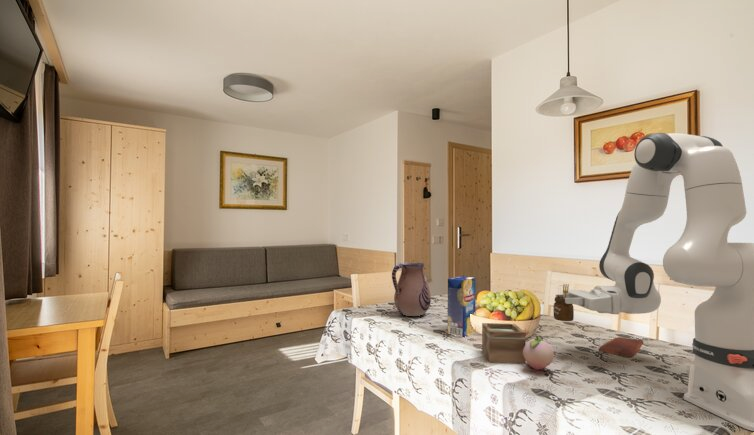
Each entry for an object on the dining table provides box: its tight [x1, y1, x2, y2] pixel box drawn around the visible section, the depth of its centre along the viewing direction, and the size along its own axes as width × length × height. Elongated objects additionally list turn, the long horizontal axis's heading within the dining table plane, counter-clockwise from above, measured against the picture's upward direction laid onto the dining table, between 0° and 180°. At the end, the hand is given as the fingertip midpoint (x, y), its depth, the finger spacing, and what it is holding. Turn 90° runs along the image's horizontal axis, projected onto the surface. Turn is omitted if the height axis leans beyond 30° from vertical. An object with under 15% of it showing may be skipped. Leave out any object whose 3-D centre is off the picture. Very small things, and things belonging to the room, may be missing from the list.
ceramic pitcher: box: [391, 261, 432, 317], centre depth 179 cm, size 18×21×25 cm
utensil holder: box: [553, 283, 575, 322], centre depth 123 cm, size 6×6×12 cm
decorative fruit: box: [523, 335, 555, 371], centre depth 111 cm, size 9×8×10 cm
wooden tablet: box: [598, 336, 644, 358], centre depth 135 cm, size 27×10×2 cm, turn 135°
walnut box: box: [481, 322, 527, 364], centre depth 122 cm, size 11×11×10 cm
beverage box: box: [447, 275, 476, 338], centre depth 150 cm, size 7×11×22 cm, turn 141°
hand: (560, 298), depth 123 cm, fingers closed on utensil holder, 5 cm apart
